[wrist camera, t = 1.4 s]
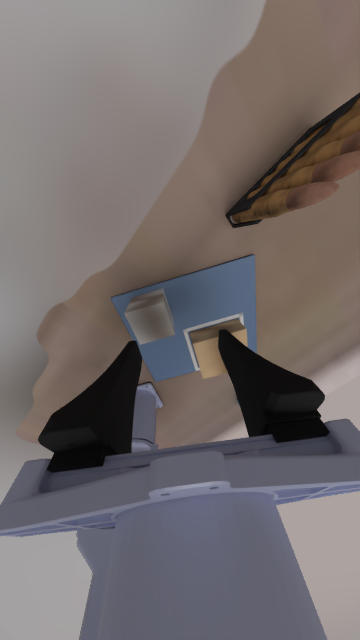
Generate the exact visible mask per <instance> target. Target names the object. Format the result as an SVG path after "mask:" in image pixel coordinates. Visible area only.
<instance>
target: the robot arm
mask: <svg viewBox="0 0 360 640" xmlns="http://www.w3.org/2000/svg"><path fill="white" fill-rule="evenodd" d="M218 349H219V352H220V355H221V358H222V361H223V363H224V365H225V367H226V370H227V372H228V374H229V376H230V378H231V381H232V383H233V386H234V389H235V392H236V395H237V398H238V401H239V404H240V407H241V411H242V414H243V417H244V421H245V424H246V428H247V432H248V435H249V437H248V438H240V439H233V440H225V441H218V442H210V443H203V444H195V445H188V446H180V447H173V448H165V449H158V445H155V437H156V408H160V407H162V406H163V403H162V401H161V400H160V398H159V396H158V394H157V393H156V391H155V389H154V387H153V385H152V384H151V383H146V384H143V385H139V386H138V381H139V377H140V371H141V364H142V355H141V353H140V350H139V347H138V344H137V341H129V342H128V344H127V345H126V346H125V348H124V349H123V350H122V352H121V353H120V354H119V356H118V357H117V358H116V359H115V361H114V362H113V363H112V364H111V365H110V366H109V368H108V369H107V370H106V371H105V372H104V373H103V374H102V375H101V376H100V377H99V378H98V379H97V380H96V381H95V382H94V383H93V384H92V385H90V386H89V387H88V388H87V389H86V390H85V391H83V392H82V393H81V394H80V395H78V396H77V397H76V398H75V399H73V400H72V401H71V402H69V403H68V404H66V405H65V406H63V407H62V408H61V409H59V410H58V411H56V412H55V413H53V414H52V415H51V417H50V419H49V420H48V422H47V424H46V426H45V427H44V429H43V431H42V432H41V434H40V436H39V438H38V441H39V443H40V444H41V445H42V446H44V447H46V448H47V449H49V450H51V451H52V452H54V455H53V457H52V459H39V460H31V461H27V462H25V463H24V465H23V467H22V469H21V470H20V472H19V474H18V476H17V478H16V479H15V481H14V483H13V484H12V486H11V488H10V489H9V491H8V493H7V495H6V496H5V498H4V500H3V502H2V503H1V505H0V536H15V537H24V536H32V535H40V534H48V533H57V532H66V531H76V530H77V534H76V535H77V538H78V540H77V547H78V549H79V551H80V552H81V554H82V555H83V557H84V559H85V560H86V562H87V563H88V565H89V567H90V568H91V570H92V573H93V576H92V580H91V585H90V590H89V595H88V599H87V604H86V609H85V613H84V618H83V623H82V628H81V632H80V637H79V640H327V637H326V635H325V633H324V630H323V627H322V624H321V622H320V619H319V617H318V614H317V611H316V609H315V606H314V604H313V601H312V598H311V596H310V593H309V590H308V588H307V585H306V583H305V580H304V577H303V575H302V572H301V570H300V567H299V564H298V562H297V559H296V557H295V554H294V551H293V549H292V546H291V543H290V541H289V538H288V536H287V533H286V531H285V528H284V525H283V523H282V520H281V517H280V515H279V512H278V510H277V507H276V505H279V504H285V503H290V502H296V501H302V500H307V499H313V498H319V497H325V496H331V495H337V494H343V493H350V492H357V491H360V431H359V430H358V429H357V428H356V427H355V426H354V425H353V423H352V422H351V421H350V420H349V419H340V420H333V421H328V422H325V423H323V422H322V421H321V419H320V417H321V415H320V413H319V412H318V411H317V409H318V408H319V406H320V405H321V404H322V403H323V401H324V399H325V395H324V393H323V392H322V391H321V390H320V389H319V388H318V387H317V385H316V384H315V383H314V382H313V381H312V380H310V379H307V378H305V377H302V376H299V375H297V374H294V373H292V372H290V371H288V370H285V369H283V368H281V367H279V366H277V365H275V364H273V363H271V362H270V361H268V360H266V359H264V358H263V357H261V356H260V355H258V354H256V353H255V352H253V351H252V350H251V349H249V348H248V347H247V346H245V345H244V344H243V343H242V342H240V341H239V340H238V339H237V338H236V337H234V336H233V335H232V334H231V333H230V332H229V331H228V330H226V329H222V330H219V337H218Z"/></svg>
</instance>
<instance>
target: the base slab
mask: <svg viewBox="0 0 360 640" xmlns="http://www.w3.org/2000/svg"><path fill="white" fill-rule="evenodd" d="M222 329H226V330H228V331H229V332H230V333H231V334H232V335H233V336H234V337H236V338H237V339H238V340H239V341H240V342H242V343H243V344H244V345H245V346H247V347H248V344H247V329H246V327H245V326H244V325H243V324H242V323H241V322H240V321H239V320H238V319H235V320H232V321H228V322H225V323H221V324H218V325H214V326H211V327H207V328H204V329H200V330H197V331H193V332H190V336H191V339H192V343H193V346H194V350H195V353H196V357H197V360H198V363H199V367H200V370H201V374H202V377H203V379H206V378H209V377H213V376H217V375H220V374H224V373H228V372H227V370H226V367H225V365H224V363H223V361H222V358H221V355H220V352H219V349H218V337H219V330H222Z"/></svg>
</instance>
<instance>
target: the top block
mask: <svg viewBox="0 0 360 640" xmlns="http://www.w3.org/2000/svg"><path fill="white" fill-rule="evenodd" d="M124 315H125V317H126V319H127V320H128V322H129V324H130V326H131V328H132V330H133V332H134V334H135V336H136V338H137V340H138V342H139V344H140V345H141V344H145V343H148V342H152V341H155V340H159V339H162V338H166V337H169V336H173V335H175V330H174V323H173V316H172V313H171V310H170V307H169V304H168V301H167V298H166V295H165V292H164V289H163V288H162V289H159V290H155V291H152V292H149V293H145V294H142V295H139V296H135V297H132V298H131V300H130V303H129V305H128V307H127V309H126V311H125V313H124Z"/></svg>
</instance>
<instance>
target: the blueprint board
mask: <svg viewBox="0 0 360 640" xmlns="http://www.w3.org/2000/svg"><path fill="white" fill-rule="evenodd" d="M162 288H163V289H164V292H165V295H166V298H167V301H168V304H169V307H170V310H171V313H172V316H173V323H174V330H175V335H173V336H169V337H166V338H162V339H159V340H155V341H152V342H148V343H145V344H141V345H140V344H139V342H138V340H137V338H136V336H135V334H134V332H133V330H132V328H131V326H130V324H129V322H128V320H127V319H126V317H125V315H124V313H125V311H126V309H127V307H128V305H129V303H130V300H131V298H132V297H135V296H139V295H142V294H145V293H149V292H152V291H155V290H159V289H162ZM111 300H112V302H113V304H114V306H115V308H116V310H117V311H118V313H119V315H120V317H121V319H122V321H123V323H124V324H125V326H126V328H127V330H128V332H129V334H130V336H131V337H132V339H133V341H137V344H138V347H139V350H140V353H141V355H142V358H143V360H144V362H145V363H146V365H147V367H148V369H149V371H150V373H151V374H152V376H153V378H154V380H155V382H157V381H161V380H165V379H168V378H172V377H176V376H179V375H183V374H187V373H190V372H194V371H198V370H200V367H199V363H198V360H197V357H196V353H195V350H194V346H193V343H192V339H191V336H190V332H193V331H197V330H200V329H204V328H207V327H211V326H214V325H218V324H221V323H225V322H228V321H232V320H235V319H238V320H239V321H240V322H241V323H242V324H243V325H244V326H245V327H246V329H247V344H248V348H249V349H251V350H252V351H253V352H255V353H256V354H257V344H256V292H255V255H253V254H252V255H249V256H246V257H242V258H239V259H236V260H233V261H229V262H226V263H223V264H219V265H216V266H213V267H209V268H206V269H203V270H199V271H196V272H193V273H189V274H186V275H183V276H180V277H176V278H173V279H170V280H166V281H163V282H160V283H156V284H153V285H150V286H146V287H143V288H140V289H136V290H133V291H130V292H127V293H123V294H120V295H117V296H113V297H111Z"/></svg>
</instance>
